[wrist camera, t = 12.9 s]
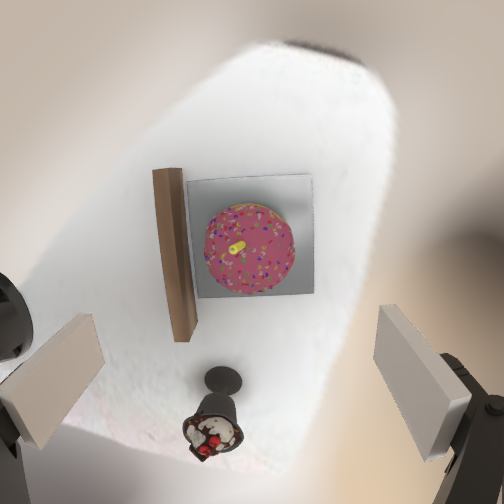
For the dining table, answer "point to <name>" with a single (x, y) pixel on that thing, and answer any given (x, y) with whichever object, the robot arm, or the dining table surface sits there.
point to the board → (268, 195)
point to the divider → (175, 251)
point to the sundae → (215, 416)
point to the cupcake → (249, 248)
